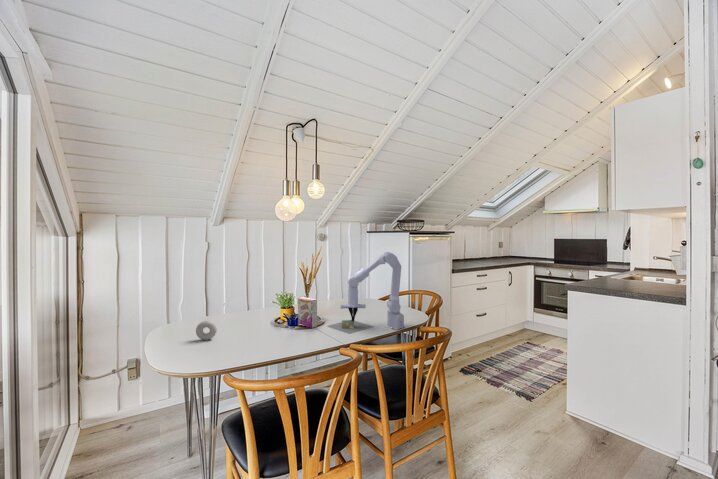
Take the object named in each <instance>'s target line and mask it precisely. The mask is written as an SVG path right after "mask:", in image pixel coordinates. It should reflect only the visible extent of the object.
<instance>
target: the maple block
mask: <svg viewBox="0 0 718 479" xmlns="http://www.w3.org/2000/svg"><path fill="white" fill-rule="evenodd" d="M354 321H355V320H354ZM354 321H352V319H346V320H345V319H343V320H341V322H342V329H346V328H354Z"/></svg>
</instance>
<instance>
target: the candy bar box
mask: <svg viewBox="0 0 718 479" xmlns="http://www.w3.org/2000/svg"><path fill="white" fill-rule="evenodd" d="M298 323H299V324H303V325H305V326H306V327H305V328H308V329H314V328H316V327H318V299H316V298H311V297H305V296H301V297H298V298H297V324H298Z"/></svg>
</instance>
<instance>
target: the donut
mask: <svg viewBox="0 0 718 479" xmlns="http://www.w3.org/2000/svg"><path fill="white" fill-rule="evenodd" d="M206 328H208V329H209V332H207V333H206V332H204V329H206ZM217 330H218V329H217V325H216V323H214V322H213V321H211V320H202V322H200V323H198V325H197V326H196V328H195V334H196V336H197V338H199V340H203V341H208V340H212V339H213V338H214V337H215V336H216V334H217V332H218V331H217Z"/></svg>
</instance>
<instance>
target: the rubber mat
mask: <svg viewBox="0 0 718 479" xmlns="http://www.w3.org/2000/svg"><path fill="white" fill-rule="evenodd" d="M326 327H328V328H330V329H333V330H336V331H339V332H342V333H345V334H349V335H351V334H355V333H358V332H361V331H365V330H369V329H371V328H375V326H373V325H370V324H367V323H363V322H360V321H357V320H354V328H346V329H342V321H341V322H337V323H334V324H329V325H326Z"/></svg>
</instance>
